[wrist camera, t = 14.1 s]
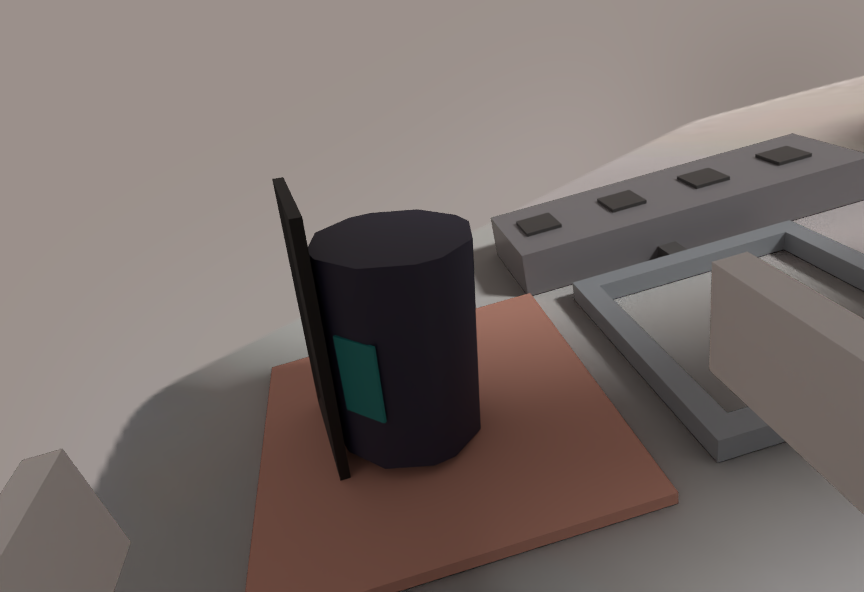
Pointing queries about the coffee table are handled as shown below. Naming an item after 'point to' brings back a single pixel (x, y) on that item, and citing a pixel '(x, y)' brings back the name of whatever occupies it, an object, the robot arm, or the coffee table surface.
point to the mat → (450, 474)
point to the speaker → (389, 332)
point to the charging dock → (686, 252)
